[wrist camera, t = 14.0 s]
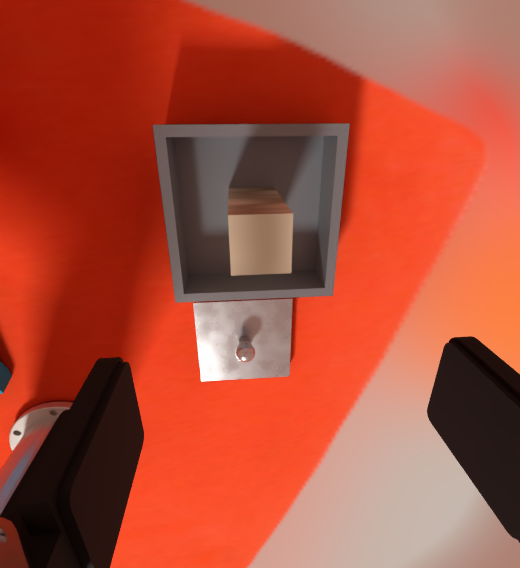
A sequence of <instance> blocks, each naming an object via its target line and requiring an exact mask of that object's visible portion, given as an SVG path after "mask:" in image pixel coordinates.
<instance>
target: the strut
mask: <svg viewBox="0 0 520 568" xmlns="http://www.w3.org/2000/svg"><path fill="white" fill-rule="evenodd" d="M228 226H229V246H230V266H231V276H236V275H260V274H284V273H291V267H292V237H293V212H292V211H291V210H290V208H289V207H288V206H287V204H286V203H285V201H284V200H283V199H282V197H281V196H280V195H279V193H278V192H277V191H276V189H275V188H274V187H253V188H229V189H228Z"/></svg>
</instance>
